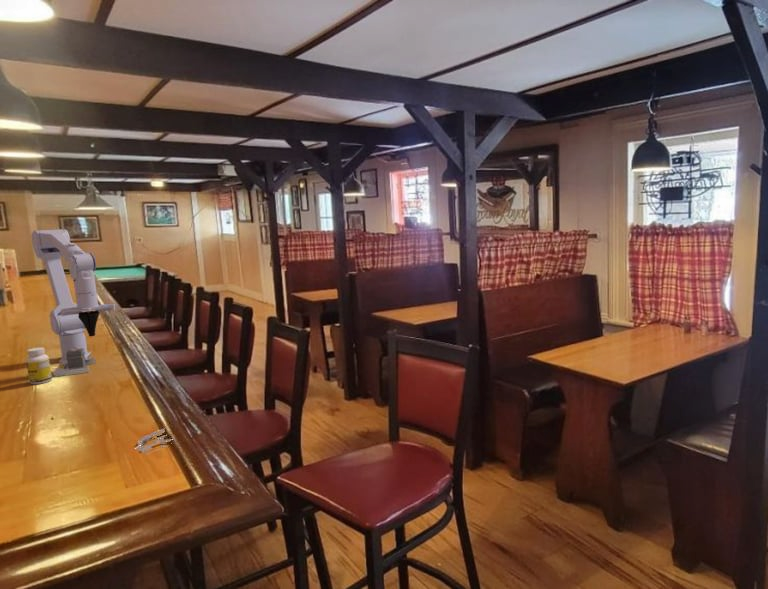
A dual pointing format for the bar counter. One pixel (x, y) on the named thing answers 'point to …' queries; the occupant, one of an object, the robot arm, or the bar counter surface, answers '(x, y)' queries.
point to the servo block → (75, 358)
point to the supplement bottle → (38, 366)
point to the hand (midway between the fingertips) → (92, 335)
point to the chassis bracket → (64, 370)
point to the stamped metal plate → (148, 438)
